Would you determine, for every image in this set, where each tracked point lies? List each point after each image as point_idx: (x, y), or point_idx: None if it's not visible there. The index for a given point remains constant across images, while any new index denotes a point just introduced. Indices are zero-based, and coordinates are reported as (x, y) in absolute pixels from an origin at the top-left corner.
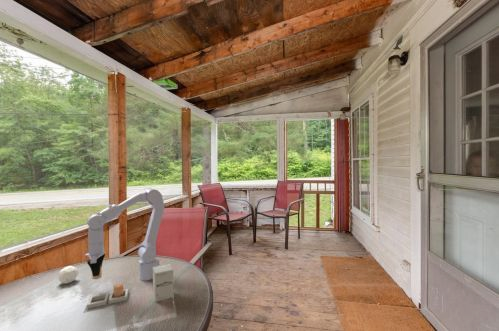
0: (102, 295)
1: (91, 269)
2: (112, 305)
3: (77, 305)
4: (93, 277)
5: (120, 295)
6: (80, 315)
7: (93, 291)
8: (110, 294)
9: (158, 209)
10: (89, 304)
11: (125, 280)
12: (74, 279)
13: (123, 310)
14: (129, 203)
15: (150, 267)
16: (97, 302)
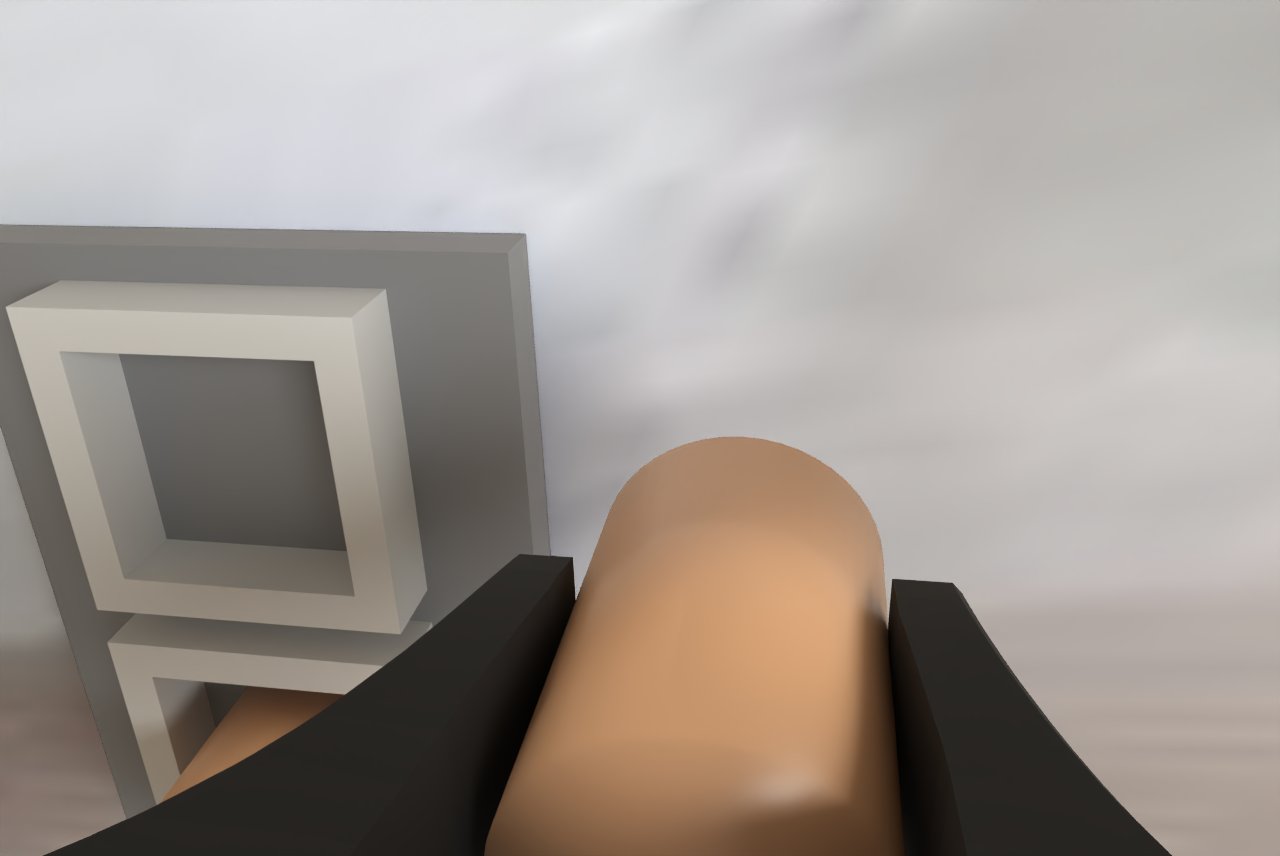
0: (352, 530)
1: (319, 724)
2: (89, 648)
3: (406, 5)
4: (613, 513)
5: None
6: (12, 167)
7: (990, 234)
8: (317, 663)
9: None
10: (18, 349)
11: (1176, 808)
12: None
13: (47, 735)
14: None
15: None
16: (64, 478)
